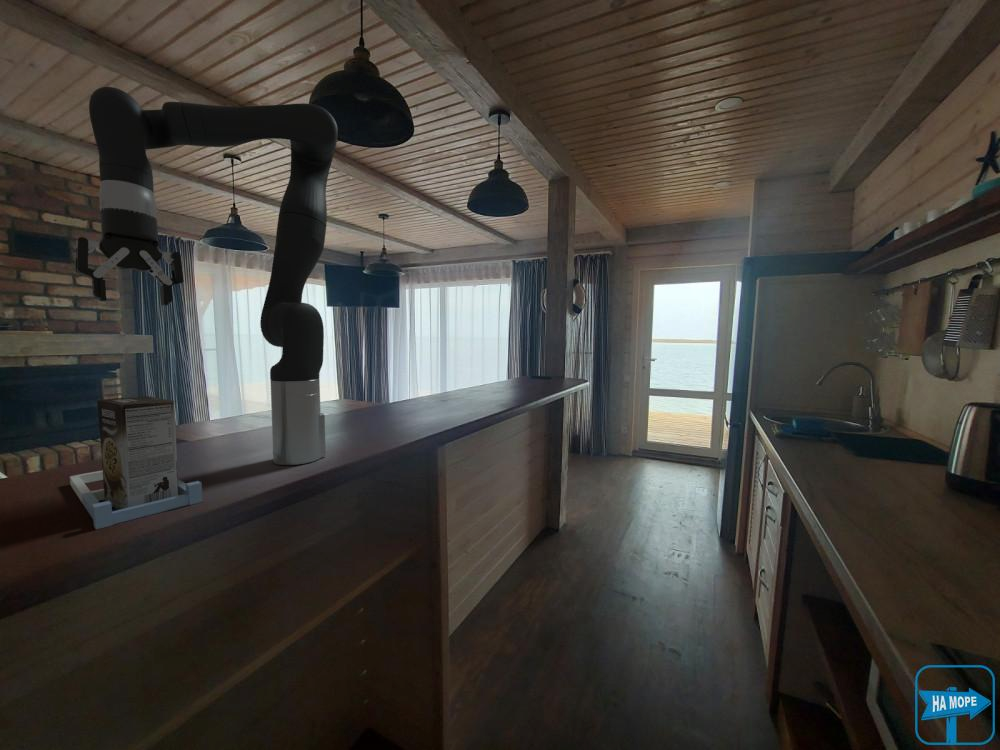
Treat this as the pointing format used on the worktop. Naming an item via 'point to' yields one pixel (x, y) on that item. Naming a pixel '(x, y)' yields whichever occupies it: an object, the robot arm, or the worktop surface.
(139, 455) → the coffee box
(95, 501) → the frame
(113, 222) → the robot arm
